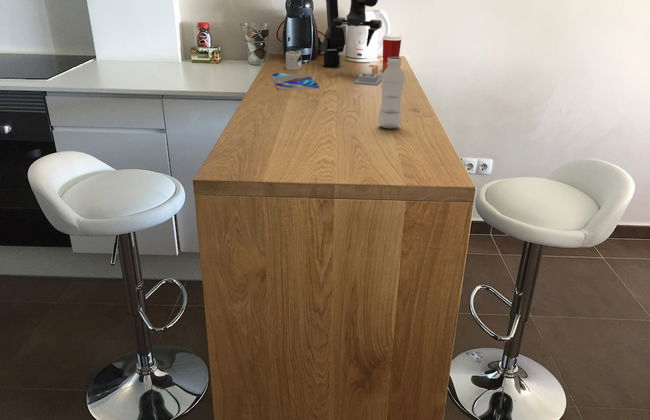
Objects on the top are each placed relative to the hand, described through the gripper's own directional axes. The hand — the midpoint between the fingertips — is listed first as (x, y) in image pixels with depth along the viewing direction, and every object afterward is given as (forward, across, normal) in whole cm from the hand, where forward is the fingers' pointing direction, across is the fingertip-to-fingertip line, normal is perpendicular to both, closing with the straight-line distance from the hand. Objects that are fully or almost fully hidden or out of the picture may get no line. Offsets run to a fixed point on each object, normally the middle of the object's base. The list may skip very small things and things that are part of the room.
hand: (356, 45), depth 229 cm
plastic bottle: (+12, +26, -68) cm, 74 cm away
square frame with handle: (+11, +8, -5) cm, 15 cm away
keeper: (+12, +8, -5) cm, 15 cm away
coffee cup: (+12, +12, +14) cm, 22 cm away
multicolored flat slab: (+13, -19, -20) cm, 31 cm away
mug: (+12, -28, +6) cm, 31 cm away
